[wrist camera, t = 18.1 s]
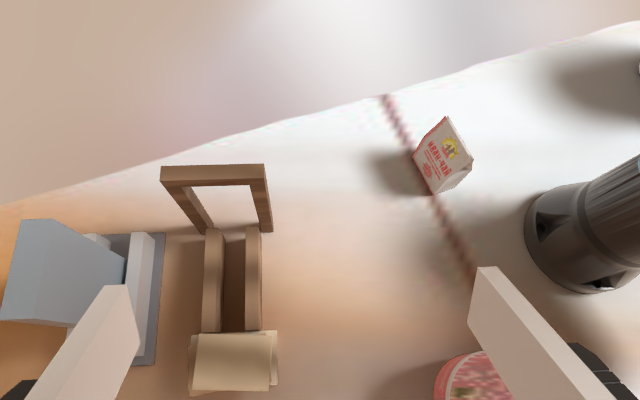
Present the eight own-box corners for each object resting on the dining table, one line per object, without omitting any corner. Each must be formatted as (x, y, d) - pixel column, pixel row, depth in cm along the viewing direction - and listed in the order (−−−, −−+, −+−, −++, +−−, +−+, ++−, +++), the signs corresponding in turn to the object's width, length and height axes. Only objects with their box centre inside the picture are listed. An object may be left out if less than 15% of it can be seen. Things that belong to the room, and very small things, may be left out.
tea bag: (433, 149, 59) (459, 111, 50) (454, 187, 57) (485, 155, 47) (411, 156, 58) (434, 119, 49) (432, 195, 56) (460, 164, 47)
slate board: (127, 330, 46) (33, 318, 29) (105, 331, 46) (-3, 320, 29) (135, 264, 49) (52, 218, 32) (114, 264, 49) (21, 219, 32)
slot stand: (154, 364, 46) (139, 365, 41) (74, 369, 45) (50, 371, 40) (165, 234, 51) (153, 222, 47) (95, 236, 51) (76, 225, 46)
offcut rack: (277, 388, 46) (269, 408, 29) (191, 394, 45) (132, 418, 29) (274, 221, 53) (266, 163, 37) (200, 224, 52) (158, 166, 36)
